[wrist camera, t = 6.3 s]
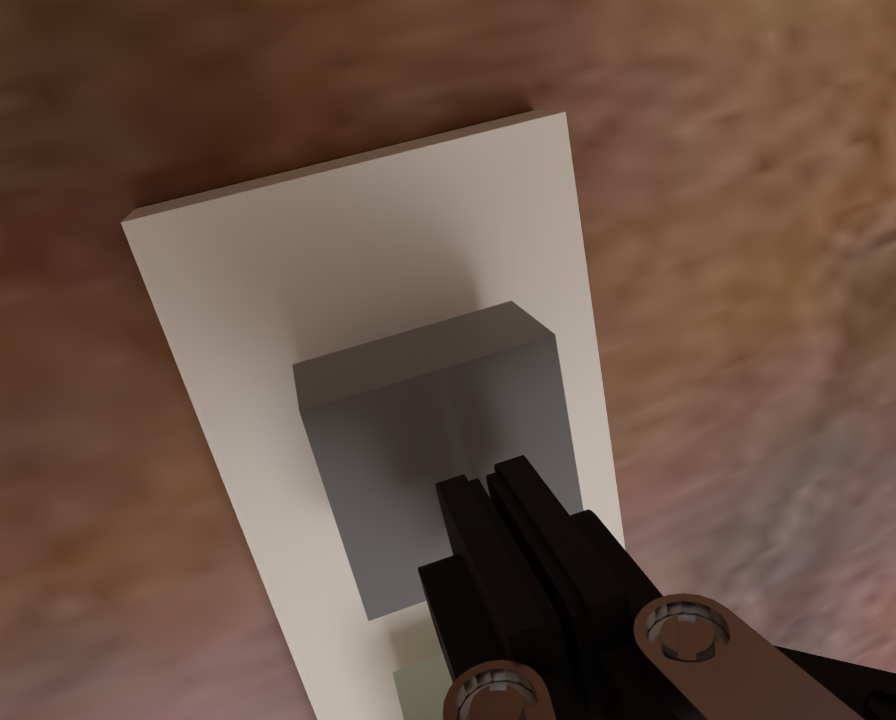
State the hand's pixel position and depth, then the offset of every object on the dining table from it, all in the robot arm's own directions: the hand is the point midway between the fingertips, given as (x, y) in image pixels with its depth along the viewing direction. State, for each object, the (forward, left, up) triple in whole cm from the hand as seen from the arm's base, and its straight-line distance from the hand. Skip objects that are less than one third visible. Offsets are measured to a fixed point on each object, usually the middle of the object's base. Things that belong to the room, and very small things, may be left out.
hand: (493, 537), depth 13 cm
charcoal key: (0, 0, -4) cm, 4 cm away
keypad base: (+9, 0, -8) cm, 12 cm away
